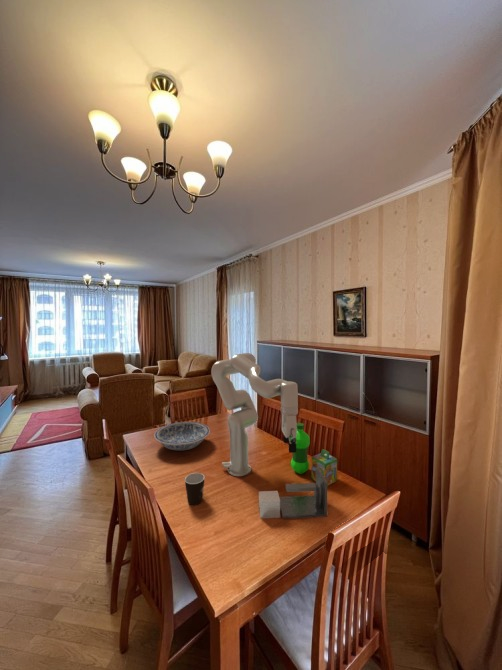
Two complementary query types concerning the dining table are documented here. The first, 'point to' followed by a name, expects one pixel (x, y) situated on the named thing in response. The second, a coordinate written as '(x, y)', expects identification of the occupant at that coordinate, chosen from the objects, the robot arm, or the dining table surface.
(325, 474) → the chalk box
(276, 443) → the dining table surface
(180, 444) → the ceramic bowl
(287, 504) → the bracket
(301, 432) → the plastic bottle
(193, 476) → the dark grey cup
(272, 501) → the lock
